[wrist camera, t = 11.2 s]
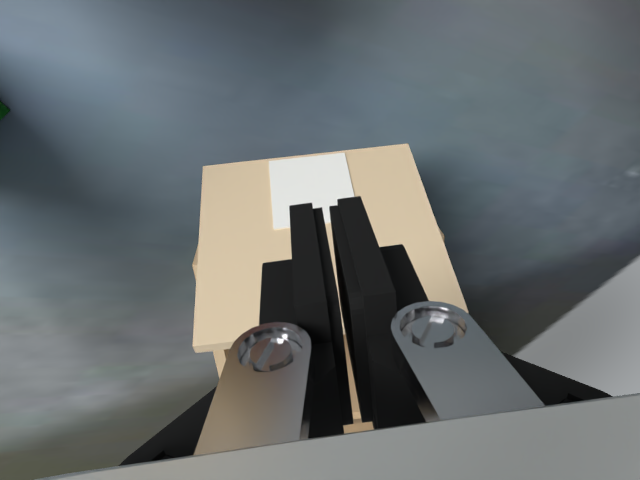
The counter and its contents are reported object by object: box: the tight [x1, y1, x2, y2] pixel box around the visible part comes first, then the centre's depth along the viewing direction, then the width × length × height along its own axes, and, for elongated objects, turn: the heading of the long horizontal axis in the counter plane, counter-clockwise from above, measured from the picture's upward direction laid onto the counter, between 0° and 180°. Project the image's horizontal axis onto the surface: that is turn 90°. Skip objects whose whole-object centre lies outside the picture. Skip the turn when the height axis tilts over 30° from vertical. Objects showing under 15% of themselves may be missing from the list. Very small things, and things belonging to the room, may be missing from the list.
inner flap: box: [193, 144, 469, 353], centre depth 25 cm, size 12×12×1 cm
